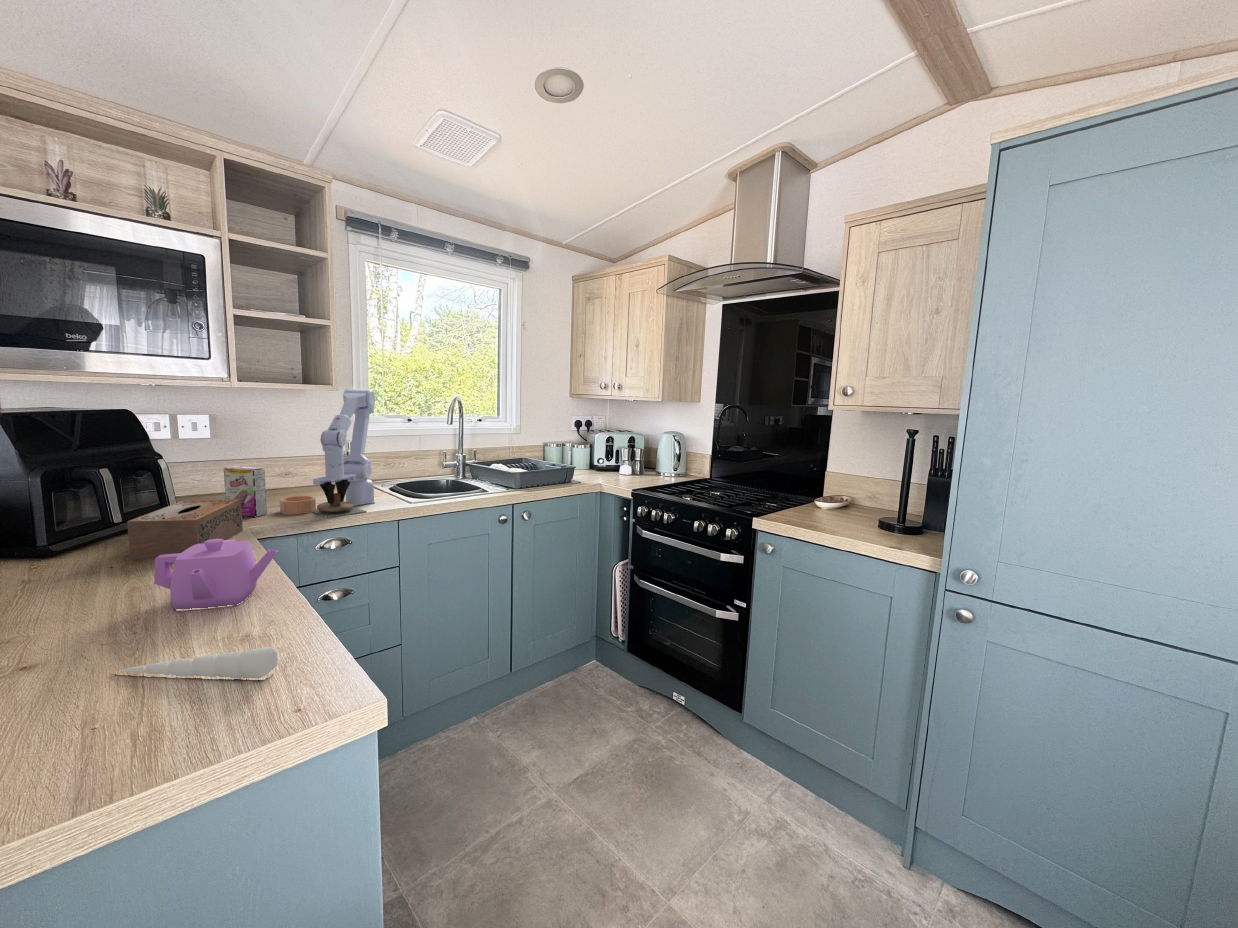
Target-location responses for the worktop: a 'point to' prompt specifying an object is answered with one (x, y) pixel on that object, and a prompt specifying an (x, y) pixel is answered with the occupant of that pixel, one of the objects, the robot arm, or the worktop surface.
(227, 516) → the tissue box cover
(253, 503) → the candy bar box
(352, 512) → the mat
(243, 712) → the worktop surface
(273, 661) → the unicorn horn
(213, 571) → the teakettle
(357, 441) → the robot arm
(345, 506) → the lid
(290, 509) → the bowl
